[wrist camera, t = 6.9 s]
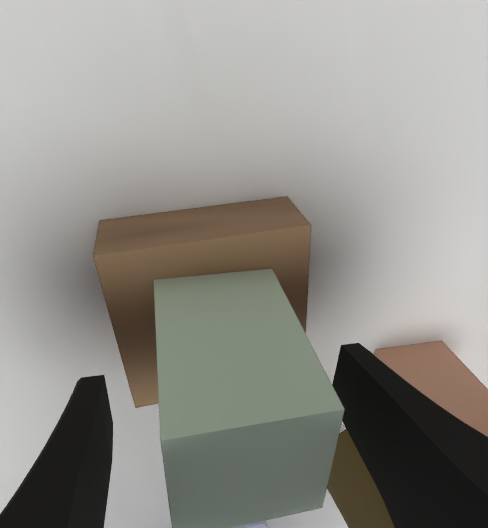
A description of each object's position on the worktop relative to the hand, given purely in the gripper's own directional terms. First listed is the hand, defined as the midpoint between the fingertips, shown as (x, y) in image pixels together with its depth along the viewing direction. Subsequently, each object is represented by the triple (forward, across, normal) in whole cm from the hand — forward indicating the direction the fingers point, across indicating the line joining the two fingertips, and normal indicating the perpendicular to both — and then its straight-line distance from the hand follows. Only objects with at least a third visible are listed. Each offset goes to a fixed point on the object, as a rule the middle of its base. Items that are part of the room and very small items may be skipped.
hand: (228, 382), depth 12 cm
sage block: (+3, 0, 0) cm, 3 cm away
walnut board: (+6, 0, 0) cm, 6 cm away
